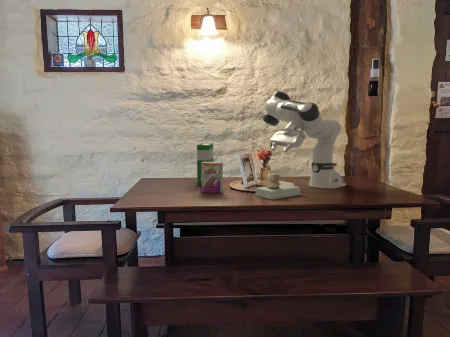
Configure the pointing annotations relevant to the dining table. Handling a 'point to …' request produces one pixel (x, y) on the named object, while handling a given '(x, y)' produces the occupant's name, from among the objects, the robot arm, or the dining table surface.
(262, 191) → the board
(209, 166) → the candy bar box
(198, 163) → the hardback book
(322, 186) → the robot arm
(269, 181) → the peg
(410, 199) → the dining table surface
